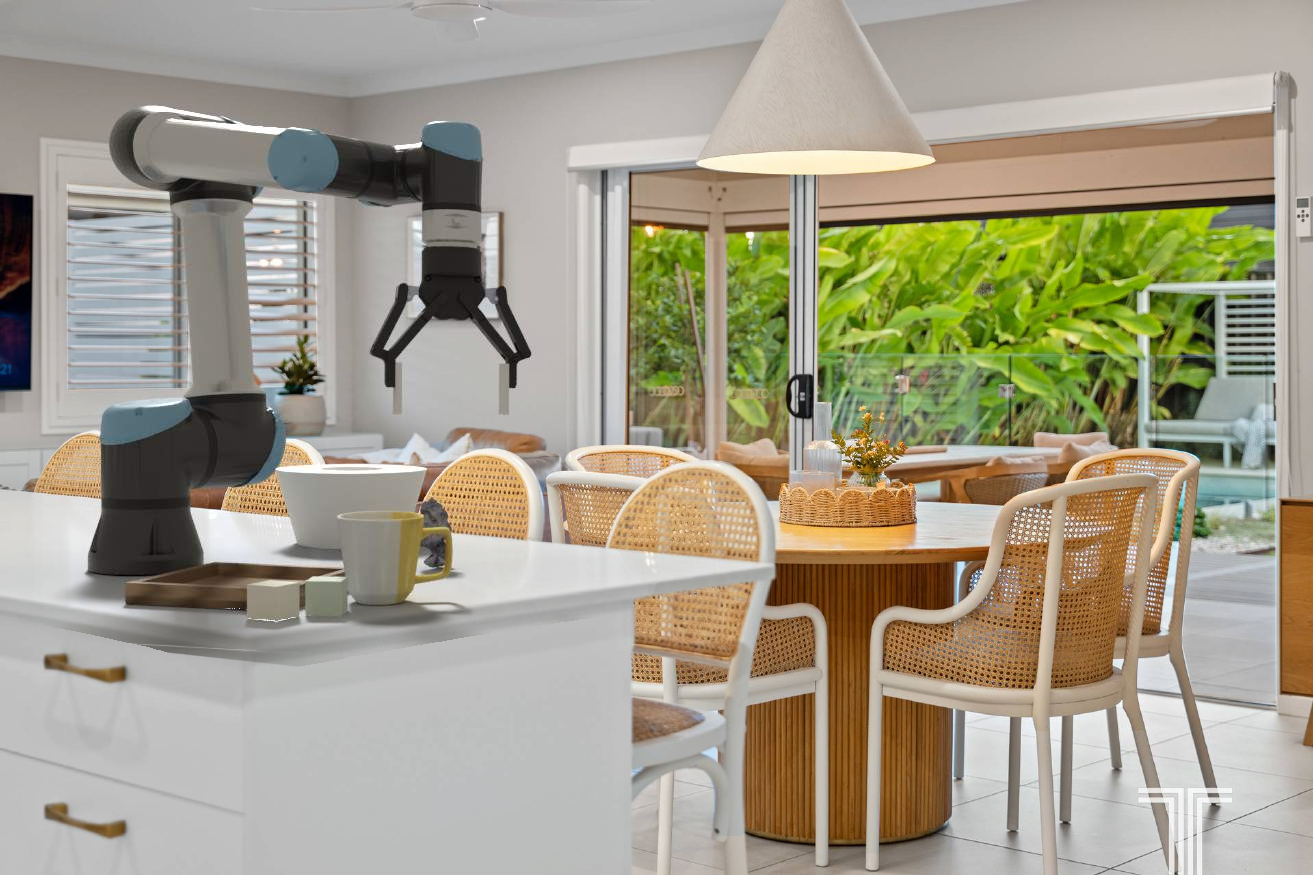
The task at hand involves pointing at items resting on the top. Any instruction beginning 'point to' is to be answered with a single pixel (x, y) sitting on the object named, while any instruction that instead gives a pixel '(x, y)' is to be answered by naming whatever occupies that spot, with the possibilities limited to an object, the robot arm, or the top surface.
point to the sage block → (326, 596)
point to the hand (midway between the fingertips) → (451, 414)
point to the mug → (385, 554)
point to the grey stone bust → (434, 542)
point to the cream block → (273, 600)
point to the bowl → (344, 496)
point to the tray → (218, 584)
